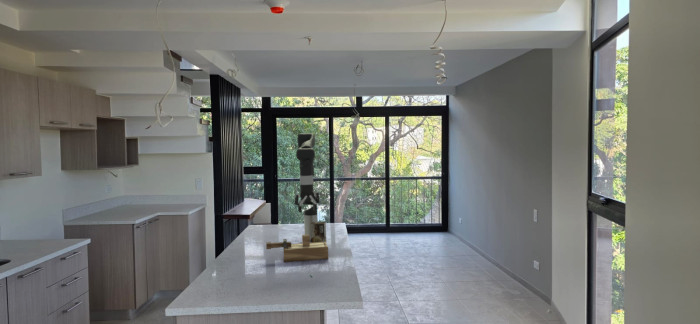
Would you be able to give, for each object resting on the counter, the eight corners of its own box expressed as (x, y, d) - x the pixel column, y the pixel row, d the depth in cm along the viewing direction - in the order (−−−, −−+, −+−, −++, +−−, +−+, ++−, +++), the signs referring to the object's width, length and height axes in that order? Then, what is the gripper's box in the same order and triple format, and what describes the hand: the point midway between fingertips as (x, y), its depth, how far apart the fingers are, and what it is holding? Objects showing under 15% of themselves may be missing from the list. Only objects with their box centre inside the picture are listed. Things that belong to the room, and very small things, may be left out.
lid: (287, 246, 228) (287, 234, 227) (323, 244, 231) (323, 232, 231) (288, 250, 219) (287, 238, 218) (325, 248, 222) (324, 236, 222)
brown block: (266, 247, 223) (266, 242, 222) (291, 246, 225) (291, 240, 225) (266, 249, 219) (266, 243, 219) (291, 247, 222) (291, 242, 222)
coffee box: (326, 246, 248) (326, 221, 247) (325, 249, 242) (324, 223, 241) (312, 246, 249) (312, 221, 248) (310, 249, 243) (310, 223, 242)
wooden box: (283, 256, 229) (283, 237, 228) (325, 253, 233) (325, 235, 233) (283, 262, 217) (283, 243, 217) (328, 258, 221) (327, 239, 221)
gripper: (315, 182, 227) (316, 209, 228) (292, 183, 221) (293, 212, 222) (320, 183, 221) (321, 211, 222) (297, 184, 214) (298, 214, 215)
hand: (307, 211), depth 222 cm, fingers open, 8 cm apart
